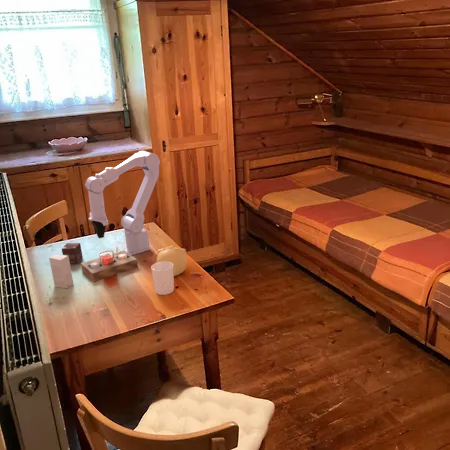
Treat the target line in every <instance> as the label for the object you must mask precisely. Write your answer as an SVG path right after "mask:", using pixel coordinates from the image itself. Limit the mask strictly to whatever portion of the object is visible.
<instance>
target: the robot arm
mask: <svg viewBox="0 0 450 450" xmlns="http://www.w3.org/2000/svg"><path fill="white" fill-rule="evenodd" d="M160 164H161V160H160V158H159V156H158V155H157V154H156V153H153V152H150V151H149V152H148V151H146V150H145V149H144V150H143V149H142V150H139V151H138V152H134V153H133V155H131V156H130V157H128V158H127V159H126V160H124V161H123V162H122V163H120V164H118V165H117V166H115V167H112V166H109V167H108V166H107V167H105V168H104V170H103V171H101V172H99V173H95V176H89V177H88V178H87V179H86V180H85V183H84V186H85V189H86V190H87V193H88V202H89V209H90V212H89V217H88V220H89V221H90V223H91V225H92V226H93V228H94V230H95V233H96V235H97V238H99V239H102V238H103V239H104V238H105V234H106V228H107V226H109V220H108V217H107V215H106V209H105V199H104V192H103V191H104V190H105V188H106V187H107V186H109V185H111V184H112V183H114V182H115V181H117V180H118V179H119V177H120V175H122V174H124V173H125V172H127V171H130V170H131V169H134V167H141V168H142V170H143V172H144V176H143V180H142V182H141V185H140V187H139V190H138V192H137V193H136V197H135V199H134V201H133V203H132V205H131V207H130V209H128V210H127V211H126V213H125V215H124V216H123V217H122V218H121V220H120V224H121V226H122V227H123V228H124V238H125V239H124V240H125V244H126V248H124V249H123V250H122V251H126V252H127V253H129V254H130V255H132V256H134V255H137V254H140V253H144V252H147V251H150V250H151V247H150V240H149V234H148V232H147V229H146V228H144V221H145V215H144V212H145V210H146V208H147V205H148V202H149V200H150V198H151V195H152V193H153V191H154V188H155V187H156V184H157V182H158V179H159V176H160Z"/></svg>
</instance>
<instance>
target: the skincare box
mask: <svg viewBox="0 0 450 450" xmlns="http://www.w3.org/2000/svg"><path fill="white" fill-rule="evenodd" d="M49 264H50V269H51V270H50V271H51V274H52V278H53V279H52V280H53V285H54V287H56V288H57V287H58V288H62V289H68V288H70V287H72V286H73V285H74V278H73V273H72V268H71V264H70V262H69V256H67V255H63V254H59V253H56V254H54V255H52V256H50V257H49Z"/></svg>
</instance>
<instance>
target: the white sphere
mask: <svg viewBox="0 0 450 450" xmlns="http://www.w3.org/2000/svg"><path fill="white" fill-rule="evenodd" d="M90 266H91V269H94V268H97V267H100V265H99V263H98V262H94V263H91V264H90Z"/></svg>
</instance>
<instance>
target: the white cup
mask: <svg viewBox="0 0 450 450" xmlns="http://www.w3.org/2000/svg"><path fill="white" fill-rule="evenodd" d="M150 269H151V274H152V281H153V286H154V289H155V294H158V295H161V296H163V295H165V296H167V295H169V294H170V295H171V294H172V293H173V292H174V291H175V286H174V285H175V276H174V272H173V264H172V263H171V262H167V261H162V262H157V261H156V262H155V263H153V264H152V265H151V266H150Z"/></svg>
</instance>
